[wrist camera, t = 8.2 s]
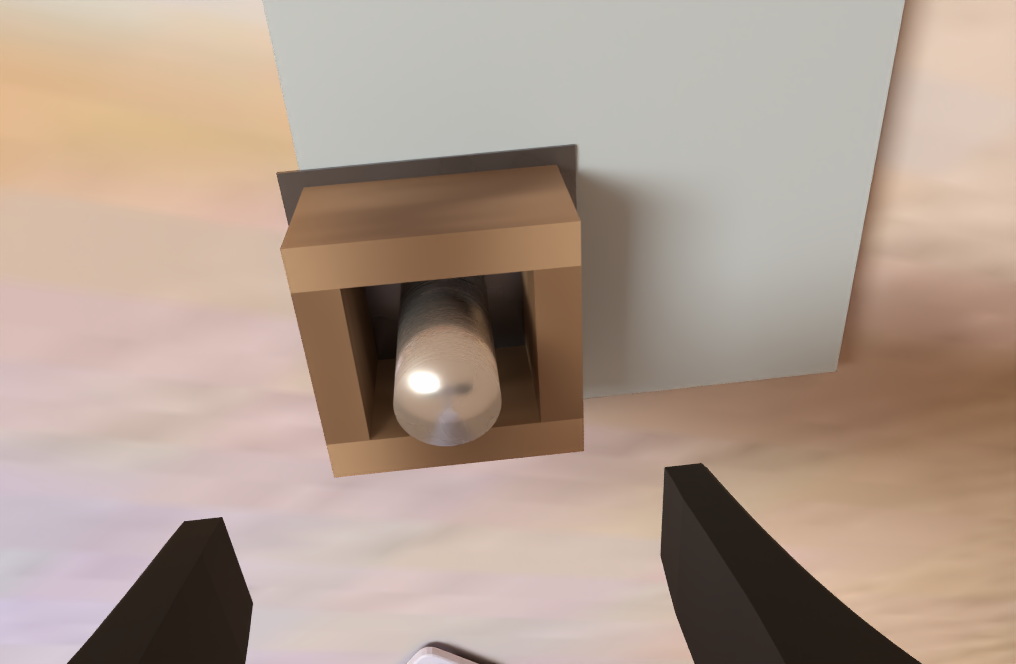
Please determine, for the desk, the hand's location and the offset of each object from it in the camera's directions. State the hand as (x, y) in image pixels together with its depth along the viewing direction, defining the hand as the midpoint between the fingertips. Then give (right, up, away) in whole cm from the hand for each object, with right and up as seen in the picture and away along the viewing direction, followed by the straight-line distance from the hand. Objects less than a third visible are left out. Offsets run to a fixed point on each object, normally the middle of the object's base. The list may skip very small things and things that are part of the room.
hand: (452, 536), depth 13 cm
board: (+3, +7, +7) cm, 11 cm away
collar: (-1, +4, +7) cm, 9 cm away
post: (-1, +5, +8) cm, 10 cm away
